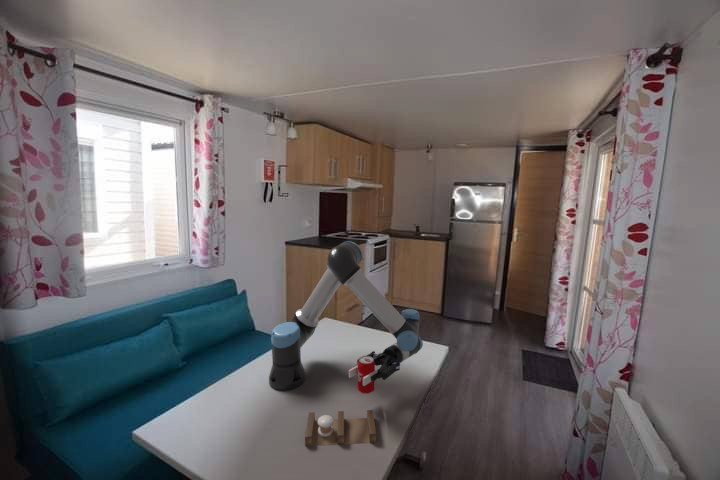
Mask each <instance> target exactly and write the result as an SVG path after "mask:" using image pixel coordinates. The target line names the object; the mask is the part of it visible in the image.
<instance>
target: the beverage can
mask: <svg viewBox="0 0 720 480" xmlns="http://www.w3.org/2000/svg"><path fill="white" fill-rule="evenodd" d="M358 359H359V361H358V374H357V379H356V380H357V381H356V382H357V384H356V385H357V387H356V388H357V390H358V392H359V393H361V394H364V395H368V394H372V392H374V391H375V381H376V380H375V381H371V382H370V383H368V384H367V385H365V386H363V377H365V376H367V375H368V374H370V373H372V372H373V371H376V365H375V362H374V360H373V358H372V357H370V356H366V355H362V356H360V357H359V358H358Z"/></svg>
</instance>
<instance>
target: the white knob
mask: <svg viewBox="0 0 720 480" xmlns="http://www.w3.org/2000/svg"><path fill="white" fill-rule="evenodd" d="M333 419H334V418H333V417H332V416H331V415H328V414H324V415H321V416H320V417H318V419H317V420H318V426H319V428H318V434H319V436H321V437H329V436H331V435H332V434H333V426H332V425H333Z"/></svg>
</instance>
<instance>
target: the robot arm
mask: <svg viewBox="0 0 720 480" xmlns="http://www.w3.org/2000/svg"><path fill="white" fill-rule="evenodd" d="M326 258H327V260H326V261H327V262H326V267H327V269H326V270H325V271H324V273H323V274H322V276H321V278H320V279H319V282H318V283H317V284H316V286H315V287H314V289H313V290H312V292H311V294H310V295H309V297H308V299H307V300H306V302H304V305H303V307H302V308H299V309H297V310H296V311H295V313H294V314H293V316H292V317H291V319H290V321H286V322H282V323H279V324H277V325H276V326H274V328H273V329H272V331H271V337H270V342H271V359H272V366H271V368H270V371H269V375H268V383H269V386H270V387H271V388H272V389H274V390H278V391H288V390H293V389H296V388H299V387H300V386H301V385H303V384H304V382H305V381H306V370H305V368H304V365H303V363H302V360H301V357H302V356H301V355H302V354H301V348H302V347H303V346H304V345H305V343H306V342H307V341H308V340H309V339H310V338H311V337H312V336H313V334H314V333H315V331H316V328H317V327H318V325H319V322H320V321H319V318H320V316H321V315H322V313H323V312H324V310H325V308H326V307H327V305H328V304H329V303H330V301H331V299H332V298H333V296H334V295H335V293H336V292H337V290H338V289H339V287H340V285H343V286H347V288H348V289H350V290H351V292H352V293H354V295H355V296H356V297H357V298H358V299H359V300H360V302H362V303H363V304H364V306H365V307H366V308H367V309H368V310H369V311H370V312H371V313H372V314H373V315H374V316H375V318H377V320H378V321H380V323H381V324H382V325H383V326H384V327H385V328H386V329H387V330H388V331H389V333H391V335H392V336H393V337H394V338H395V339H396V342H395V343H393V344H391V345H389V346H388V347H385V349H383V352H379V353H376V352H375V351H374V350H373V351H371V352H370V353H369V354H366V355H365V356H370V357H372V358H373V360H374V362H375V367H378V366H380V367H379V368H378V369H377V370H375V371H373V372H372V373H370V374H368V375H367V376H365V377H363V386H365V385H367V384H368V383H370V382H371V381H377V379H380V380H381V379H382V380H383V381H385V380H387V379H388V378H389V377H391V376H392V375H393V374H394V373H396V372H398V371H400V369H401V363H403V362H404V361H406V360H408V359H409V358H410V357H412V356H414V355H416V354H418V352H419V351H421V350H422V349H423V345H424V343H423V340H422V338H421V337H420V335H419V332H420V312H419V311H418V310H416V309H412V308H406V309H404V310H402V311H401V314H400V312H399V311H398V310H397V308H395V307H394V305H392V303H390V301H388V299H387V298H386V297H385V296H384V295H383V294H382V293H381V292H380V291H379V289H377V287H376V286H375V285H374V284H373V283H372V282H371V281H370V280H369V279H368V277H366V275H365V274H364V273H363V272H362V267H361V266H360V263H361V262H362V259H363V251H362V248H361V247H360V246H359V244H357V243H356V242H353V241H343V242H342V243H340V244H338V245H337V246H334V247H333V248H331V250H330V251H329V253H327V257H326ZM358 361H359V358H358V359H357V361H356V365H354V366H353V367H352V368H349V369H348V378H349V379H350V378H351V379H352V378H353V377H354V376H356V375H358Z"/></svg>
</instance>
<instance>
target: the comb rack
mask: <svg viewBox="0 0 720 480" xmlns="http://www.w3.org/2000/svg"><path fill="white" fill-rule="evenodd" d="M315 415H316V412H315V411H310V412H308V415H307V422H306V429H305V436H304V446H305V447H308V446H310V447H311V446H327V445H328V446H329V445H330V446H332V445H333V446H334V445H350V444H376V443H377V431H376V429H377V428H376V424H375V417H374V410H373V409H368V410H366V417H362V418H360V417H359V418H345V411H344V410H339V411H337V418H336V419H334V418H333V425H332V426H333V434H332V435H331V436H329V437H321V436H319V434H318V428H319V426H318V419H316V416H315Z"/></svg>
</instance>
